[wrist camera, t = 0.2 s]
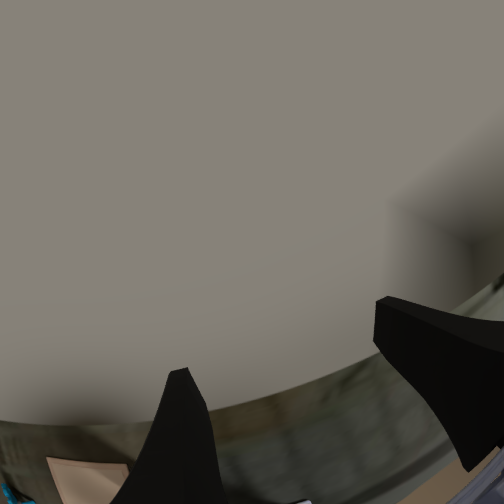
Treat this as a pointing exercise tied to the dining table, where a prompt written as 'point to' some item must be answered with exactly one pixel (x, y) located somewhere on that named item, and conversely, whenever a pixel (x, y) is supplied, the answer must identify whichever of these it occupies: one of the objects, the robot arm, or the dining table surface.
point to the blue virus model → (12, 499)
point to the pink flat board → (87, 480)
